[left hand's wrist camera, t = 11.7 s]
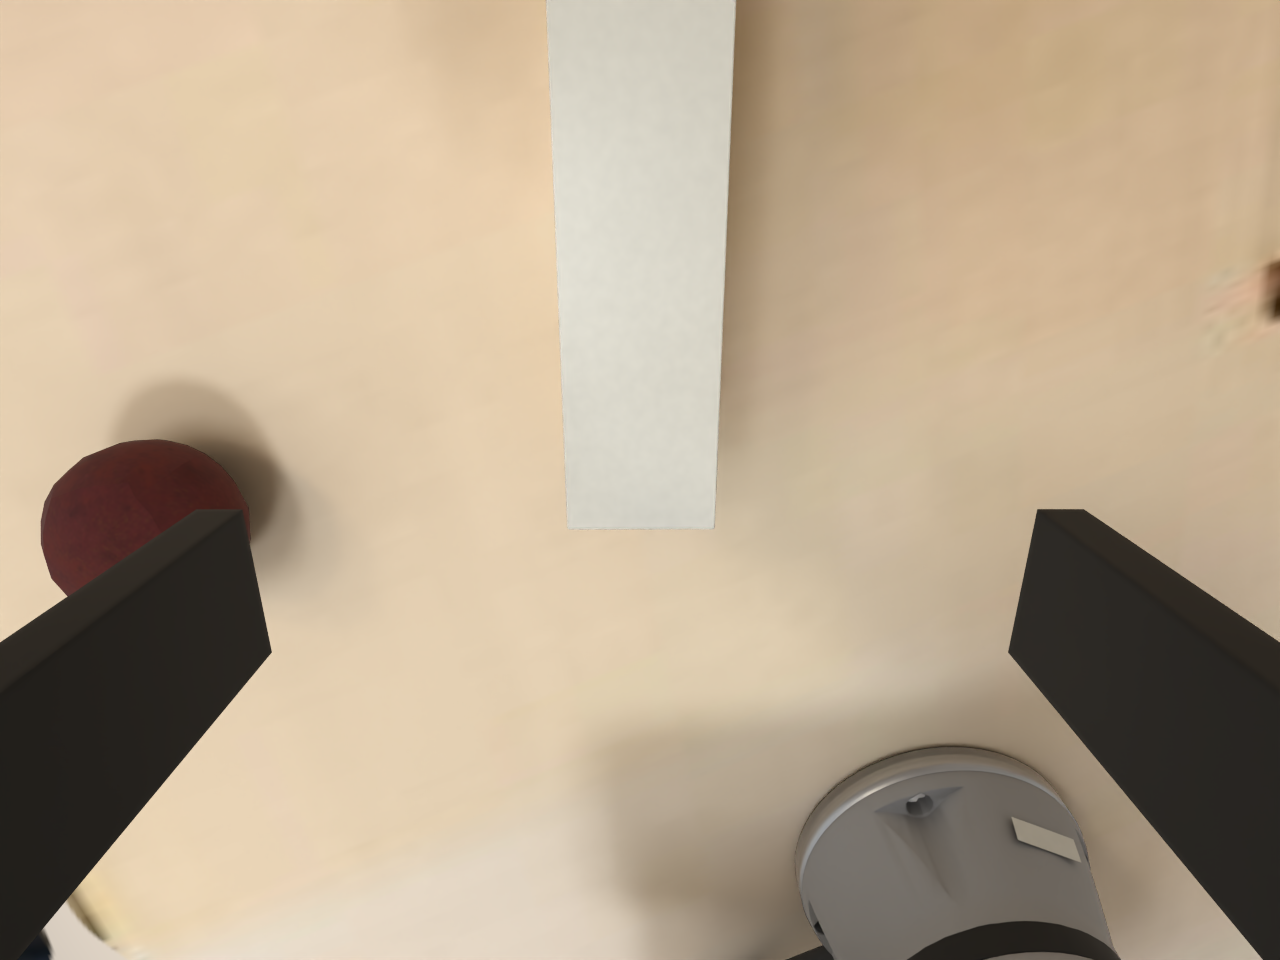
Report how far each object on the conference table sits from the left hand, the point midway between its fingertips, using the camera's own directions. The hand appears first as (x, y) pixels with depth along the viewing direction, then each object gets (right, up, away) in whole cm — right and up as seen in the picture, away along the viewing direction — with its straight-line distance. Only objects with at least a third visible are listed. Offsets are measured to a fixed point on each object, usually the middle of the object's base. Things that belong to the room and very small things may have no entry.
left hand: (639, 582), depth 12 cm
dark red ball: (-20, +1, +21) cm, 29 cm away
